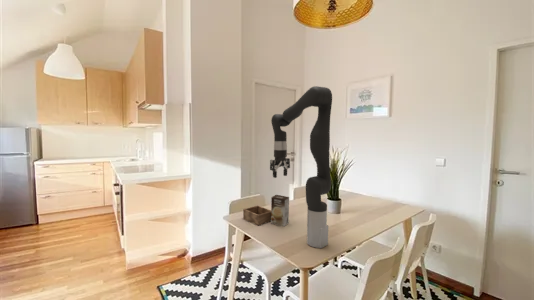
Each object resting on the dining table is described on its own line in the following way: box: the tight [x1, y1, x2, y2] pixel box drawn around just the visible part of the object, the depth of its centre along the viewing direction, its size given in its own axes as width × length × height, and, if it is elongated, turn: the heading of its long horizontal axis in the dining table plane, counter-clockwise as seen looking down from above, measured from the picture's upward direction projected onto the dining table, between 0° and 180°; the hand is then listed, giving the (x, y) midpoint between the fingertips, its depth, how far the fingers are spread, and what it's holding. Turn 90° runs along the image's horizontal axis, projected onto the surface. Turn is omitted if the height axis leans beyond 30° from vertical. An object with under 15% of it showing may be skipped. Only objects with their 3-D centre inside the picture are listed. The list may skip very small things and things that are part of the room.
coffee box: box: [270, 194, 290, 227], centre depth 143 cm, size 9×6×16 cm
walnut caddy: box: [242, 205, 271, 226], centre depth 149 cm, size 15×12×6 cm
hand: (280, 176), depth 141 cm, fingers open, 8 cm apart
